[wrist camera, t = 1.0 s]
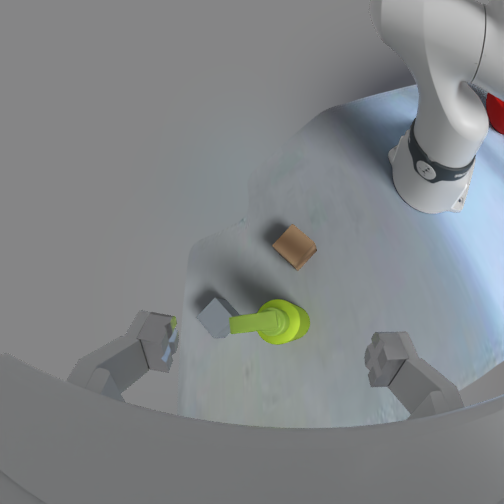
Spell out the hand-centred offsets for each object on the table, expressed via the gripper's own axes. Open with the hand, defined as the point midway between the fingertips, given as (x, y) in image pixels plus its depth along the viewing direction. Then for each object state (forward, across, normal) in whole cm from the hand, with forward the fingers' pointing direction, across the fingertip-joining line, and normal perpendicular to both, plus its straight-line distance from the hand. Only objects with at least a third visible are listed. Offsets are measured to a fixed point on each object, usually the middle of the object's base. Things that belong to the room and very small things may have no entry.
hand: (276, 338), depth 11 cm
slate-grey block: (+30, +6, +28) cm, 42 cm away
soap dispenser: (+28, -5, +25) cm, 38 cm away
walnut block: (+37, -6, +16) cm, 40 cm away
